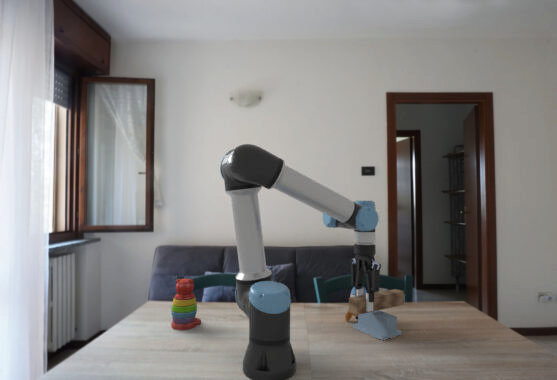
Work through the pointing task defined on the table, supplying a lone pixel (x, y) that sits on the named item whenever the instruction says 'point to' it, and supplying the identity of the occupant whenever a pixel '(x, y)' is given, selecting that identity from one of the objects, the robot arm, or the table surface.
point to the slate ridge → (378, 324)
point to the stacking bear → (184, 306)
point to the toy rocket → (348, 314)
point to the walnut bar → (377, 301)
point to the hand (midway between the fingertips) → (364, 309)
